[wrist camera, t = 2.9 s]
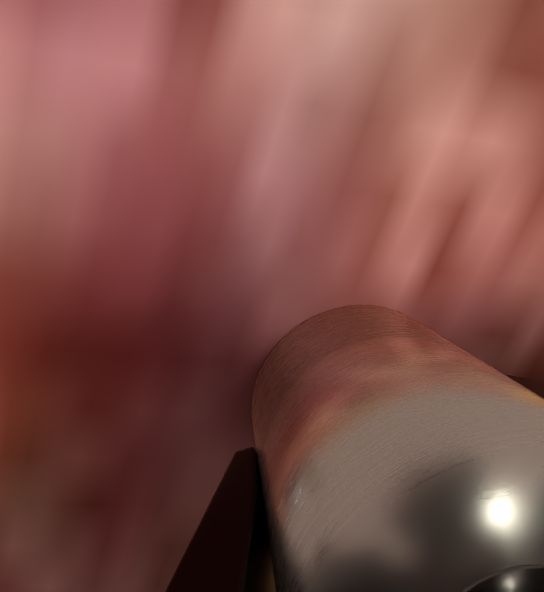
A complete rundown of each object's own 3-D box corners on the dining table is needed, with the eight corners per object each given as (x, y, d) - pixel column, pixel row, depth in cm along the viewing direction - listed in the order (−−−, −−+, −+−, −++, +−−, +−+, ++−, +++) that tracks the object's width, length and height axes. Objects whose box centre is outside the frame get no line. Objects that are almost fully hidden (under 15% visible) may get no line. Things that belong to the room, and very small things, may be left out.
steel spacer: (434, 279, 8) (723, 382, 4) (457, 454, 10) (691, 702, 5) (225, 340, 8) (231, 545, 3) (280, 512, 9) (341, 837, 5)
